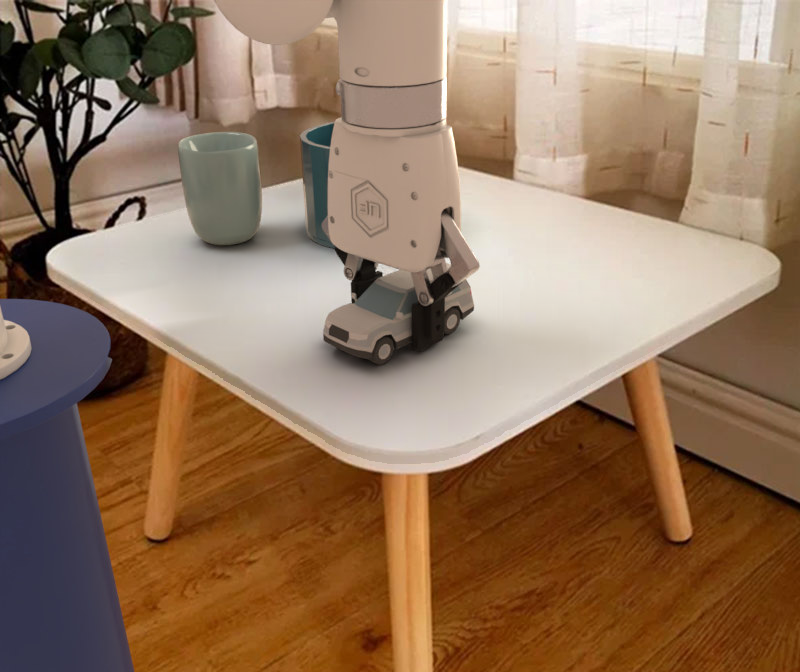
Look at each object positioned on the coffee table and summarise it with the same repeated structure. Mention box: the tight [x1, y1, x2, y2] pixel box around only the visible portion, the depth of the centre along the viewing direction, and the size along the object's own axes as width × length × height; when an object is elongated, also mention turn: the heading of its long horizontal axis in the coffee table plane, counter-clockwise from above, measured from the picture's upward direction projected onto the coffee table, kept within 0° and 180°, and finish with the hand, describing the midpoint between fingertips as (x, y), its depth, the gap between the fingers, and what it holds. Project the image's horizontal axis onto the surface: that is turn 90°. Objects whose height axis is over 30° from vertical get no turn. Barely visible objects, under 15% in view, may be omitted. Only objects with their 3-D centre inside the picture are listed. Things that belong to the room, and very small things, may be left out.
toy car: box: [322, 262, 475, 366], centre depth 75 cm, size 6×13×5 cm, turn 134°
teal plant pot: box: [299, 121, 335, 249], centre depth 96 cm, size 12×12×10 cm
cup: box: [177, 131, 263, 246], centre depth 94 cm, size 8×8×10 cm
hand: (397, 331), depth 76 cm, fingers closed on toy car, 5 cm apart
